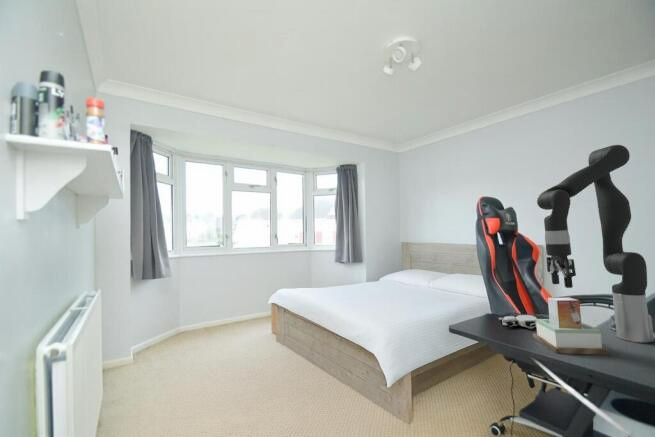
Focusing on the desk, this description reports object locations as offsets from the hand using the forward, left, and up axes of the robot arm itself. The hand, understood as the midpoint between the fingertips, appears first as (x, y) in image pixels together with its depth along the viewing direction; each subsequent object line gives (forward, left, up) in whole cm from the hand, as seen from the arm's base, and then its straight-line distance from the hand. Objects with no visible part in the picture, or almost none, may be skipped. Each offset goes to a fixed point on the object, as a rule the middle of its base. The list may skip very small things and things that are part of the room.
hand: (562, 285), depth 114 cm
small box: (0, 0, -16) cm, 16 cm away
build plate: (0, 0, -22) cm, 22 cm away
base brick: (0, 0, -20) cm, 20 cm away
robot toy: (+7, -24, -22) cm, 34 cm away
